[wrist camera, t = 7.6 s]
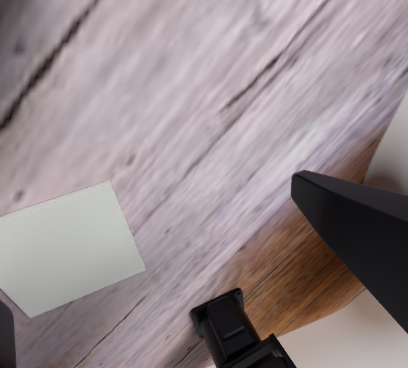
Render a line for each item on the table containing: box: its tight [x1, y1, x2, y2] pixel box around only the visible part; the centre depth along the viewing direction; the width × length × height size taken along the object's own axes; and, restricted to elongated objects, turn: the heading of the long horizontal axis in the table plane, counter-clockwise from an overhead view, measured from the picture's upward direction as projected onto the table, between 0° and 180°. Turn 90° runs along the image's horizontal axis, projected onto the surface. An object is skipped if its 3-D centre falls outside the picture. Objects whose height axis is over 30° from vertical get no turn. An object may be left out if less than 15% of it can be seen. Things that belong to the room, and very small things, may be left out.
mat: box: [0, 180, 146, 318], centre depth 22 cm, size 10×10×1 cm
